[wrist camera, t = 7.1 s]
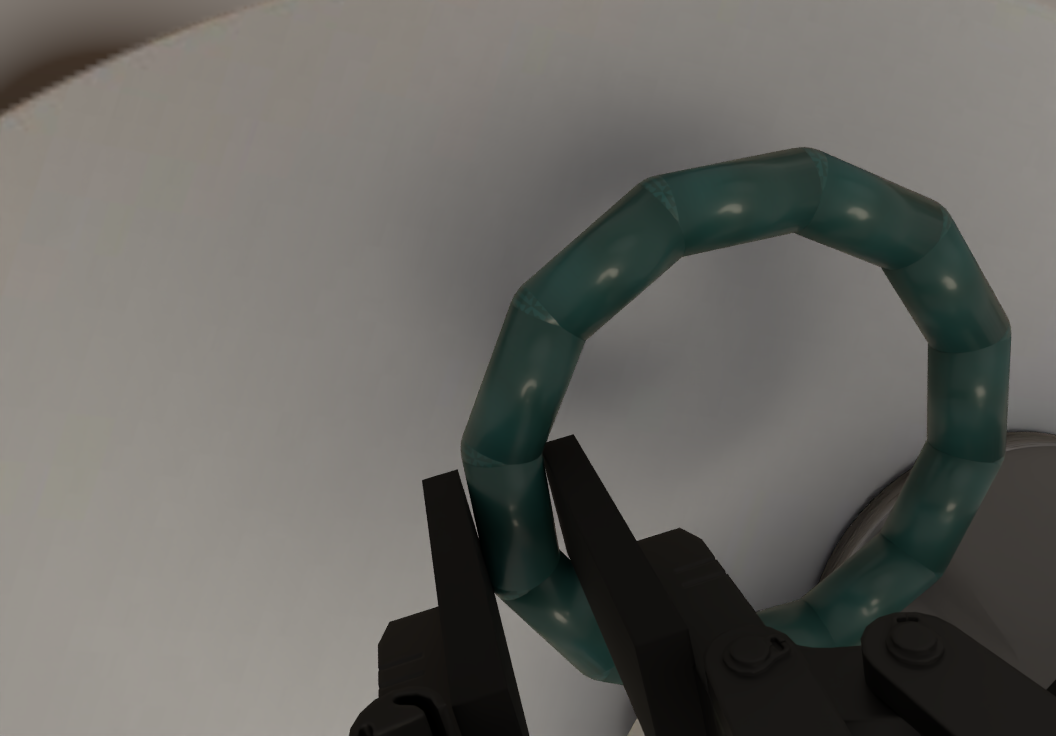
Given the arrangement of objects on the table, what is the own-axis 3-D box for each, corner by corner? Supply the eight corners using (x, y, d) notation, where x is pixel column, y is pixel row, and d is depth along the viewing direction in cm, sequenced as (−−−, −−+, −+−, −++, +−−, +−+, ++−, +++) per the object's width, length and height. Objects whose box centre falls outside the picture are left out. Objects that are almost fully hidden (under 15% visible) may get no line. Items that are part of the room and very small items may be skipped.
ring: (980, 105, 17) (1042, 105, 15) (965, 587, 21) (1013, 624, 20) (408, 218, 15) (415, 231, 14) (516, 722, 19) (531, 774, 18)
